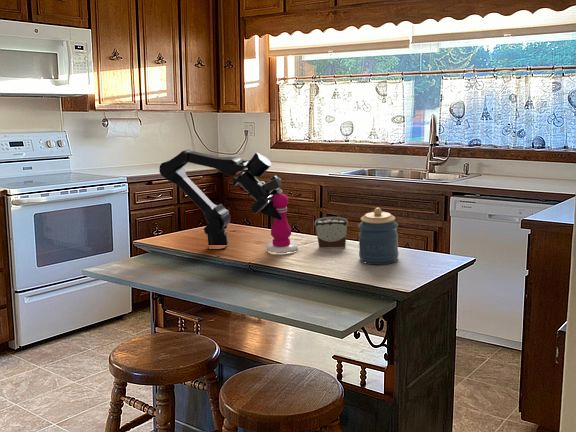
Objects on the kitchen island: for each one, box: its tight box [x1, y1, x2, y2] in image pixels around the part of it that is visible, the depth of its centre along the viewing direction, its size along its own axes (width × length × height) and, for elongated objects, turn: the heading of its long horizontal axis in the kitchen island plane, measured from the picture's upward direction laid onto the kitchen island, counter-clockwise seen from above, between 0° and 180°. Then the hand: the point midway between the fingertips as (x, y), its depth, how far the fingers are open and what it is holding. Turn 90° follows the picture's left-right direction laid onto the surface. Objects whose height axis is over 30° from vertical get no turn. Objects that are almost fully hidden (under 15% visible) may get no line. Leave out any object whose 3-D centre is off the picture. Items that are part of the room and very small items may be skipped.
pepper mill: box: [270, 188, 292, 247], centre depth 226 cm, size 7×7×20 cm
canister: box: [357, 207, 399, 265], centre depth 212 cm, size 13×13×18 cm
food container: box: [313, 216, 350, 249], centre depth 231 cm, size 12×6×10 cm, turn 84°
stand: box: [266, 240, 299, 253], centre depth 229 cm, size 11×11×2 cm
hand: (283, 217), depth 226 cm, fingers closed on pepper mill, 5 cm apart
